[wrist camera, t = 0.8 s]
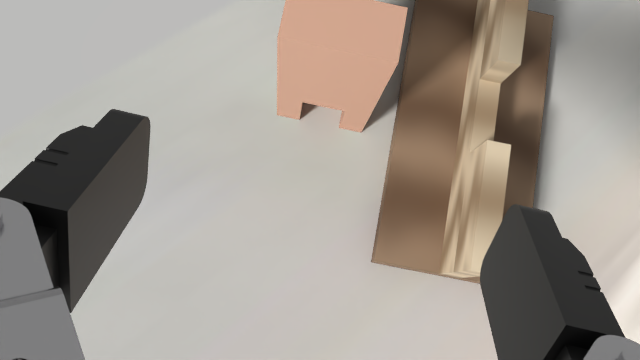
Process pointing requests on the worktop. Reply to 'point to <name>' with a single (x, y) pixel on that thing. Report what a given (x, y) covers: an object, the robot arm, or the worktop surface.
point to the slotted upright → (337, 56)
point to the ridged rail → (463, 133)
